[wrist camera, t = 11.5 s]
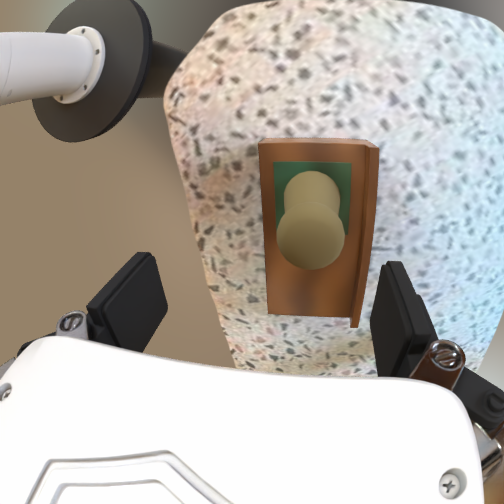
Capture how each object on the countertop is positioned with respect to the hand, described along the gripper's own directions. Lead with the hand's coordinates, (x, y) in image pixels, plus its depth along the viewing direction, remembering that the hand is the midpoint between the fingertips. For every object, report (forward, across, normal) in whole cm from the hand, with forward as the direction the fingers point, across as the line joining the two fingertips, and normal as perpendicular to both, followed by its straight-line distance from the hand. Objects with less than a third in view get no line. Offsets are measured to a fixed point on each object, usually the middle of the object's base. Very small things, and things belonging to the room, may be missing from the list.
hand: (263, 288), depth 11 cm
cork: (+20, -2, +3) cm, 21 cm away
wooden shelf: (+25, -3, +8) cm, 26 cm away
